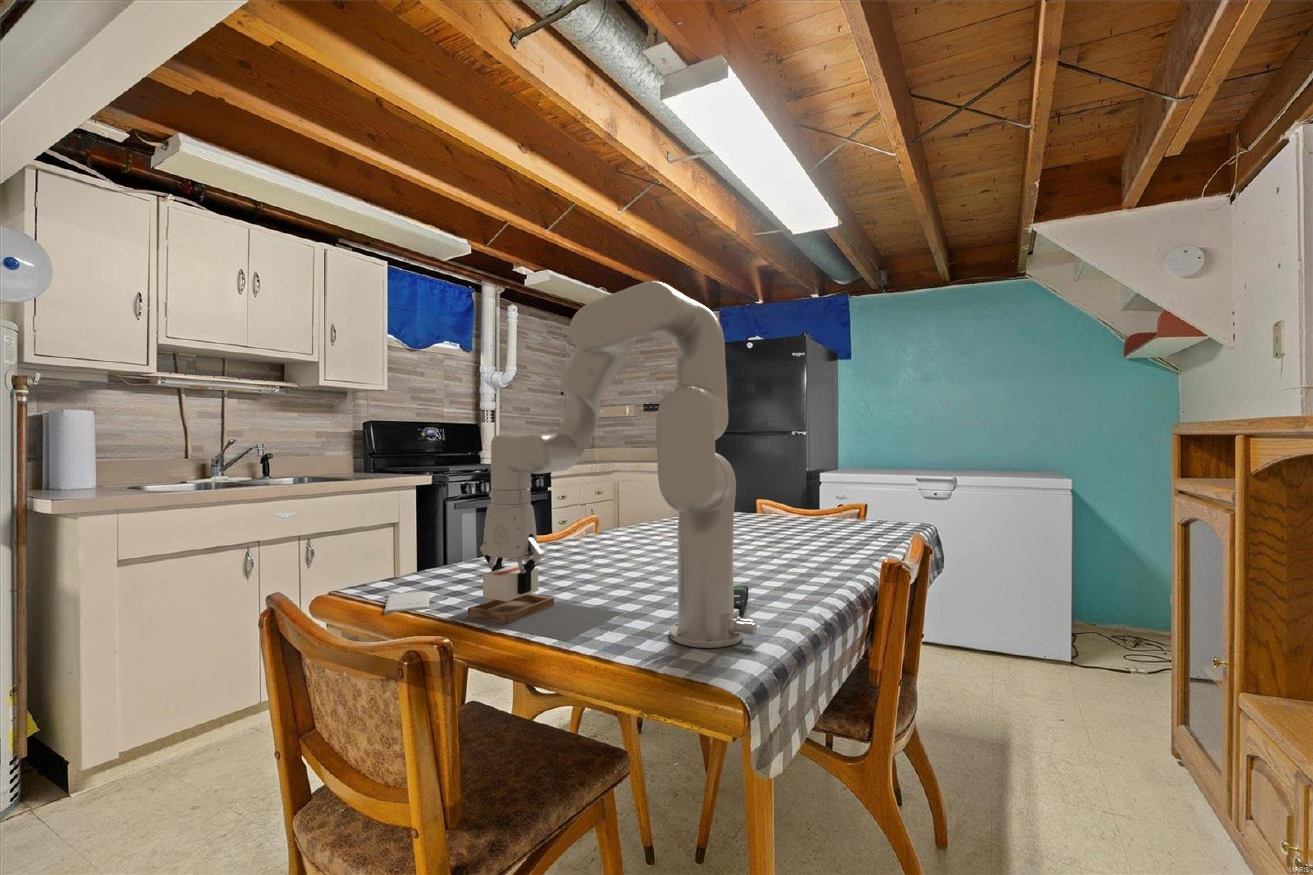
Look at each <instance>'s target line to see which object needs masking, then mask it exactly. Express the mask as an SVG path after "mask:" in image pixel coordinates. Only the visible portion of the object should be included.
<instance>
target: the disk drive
mask: <svg viewBox="0 0 1313 875" xmlns="http://www.w3.org/2000/svg"><path fill="white" fill-rule="evenodd" d="M748 600H749V586H746V585H734V609H739V615H743V614H745V610H746V607H745V606H747V602H748ZM743 616H744V615H743Z"/></svg>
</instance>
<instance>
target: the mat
mask: <svg viewBox="0 0 1313 875" xmlns="http://www.w3.org/2000/svg"><path fill="white" fill-rule="evenodd" d="M623 614H624V612H622V611H615V610H608V609H602V608H597V607H588V606H582V605H577V604H576V605H575V604H569V603H564V602H559V601H557V602H556V601H554V606H553V607H550V608H548V609H545V610H543V611H540V612H538V613H535V614H533V615H530V616H527V617H525V618H522V619H520V620H517V621H515V622H512V623H510V624H505V623H500V622H495V621H489V620H484V619H479V618H473V617H468V610H465V611H463V612H461V613H460V612H459V613H457V614H454V615H451V616H447V619H450V620H454V621H461V622H466V623H471V624H475V625H481V626H486V627H492V628H496V629H500V630H506V631H512V632H517V633H523V634H528V635H532V636H537V637H542V638H549V639H553V640H559V641H564V642H568V641H570V640H572V639H574V638H576V637H578V636H579V635H582V634H584V633H586V632H588V631H590V630H592V629H594V628H597V627H598V626H601V625H602V624H604V623H606V622H608V621H610V620H612V619H613V620H614V619H615V618H617V617H619V616H621V615H623Z"/></svg>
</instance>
